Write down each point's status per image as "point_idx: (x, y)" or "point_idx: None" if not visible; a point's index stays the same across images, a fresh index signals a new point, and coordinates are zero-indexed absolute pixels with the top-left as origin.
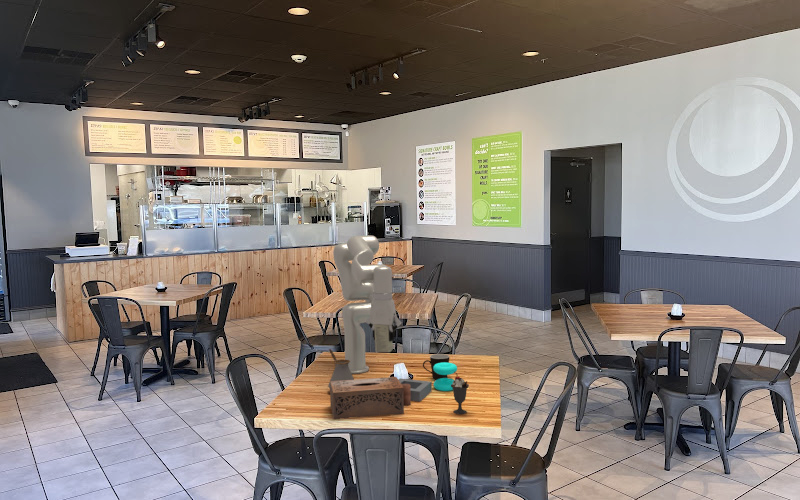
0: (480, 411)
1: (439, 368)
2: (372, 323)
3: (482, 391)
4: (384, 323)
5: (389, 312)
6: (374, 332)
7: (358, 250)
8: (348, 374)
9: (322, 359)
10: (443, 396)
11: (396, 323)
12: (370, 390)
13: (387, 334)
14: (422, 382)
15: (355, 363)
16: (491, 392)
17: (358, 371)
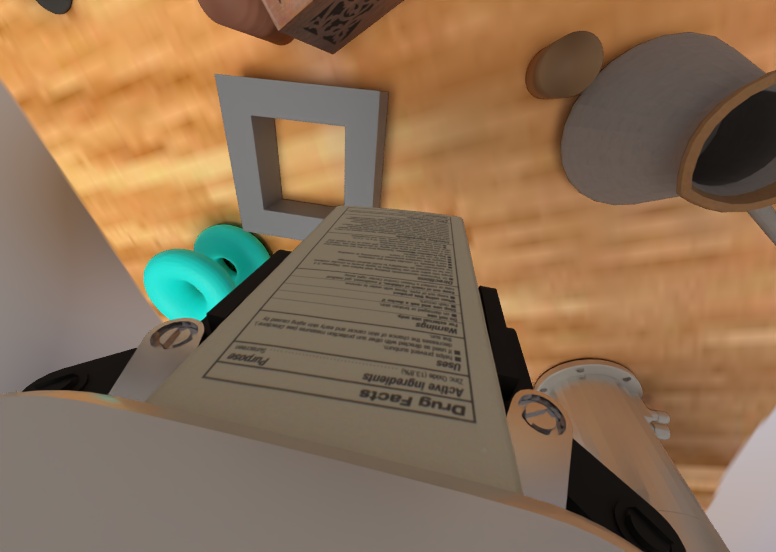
0: (3, 20)
1: (183, 261)
2: (603, 540)
3: (137, 244)
4: (129, 454)
5: None
6: (495, 351)
7: None
8: (641, 110)
9: (719, 477)
10: (202, 170)
11: None
12: None
13: (269, 286)
14: (267, 214)
15: (593, 396)
16: (113, 240)
17: (569, 367)
